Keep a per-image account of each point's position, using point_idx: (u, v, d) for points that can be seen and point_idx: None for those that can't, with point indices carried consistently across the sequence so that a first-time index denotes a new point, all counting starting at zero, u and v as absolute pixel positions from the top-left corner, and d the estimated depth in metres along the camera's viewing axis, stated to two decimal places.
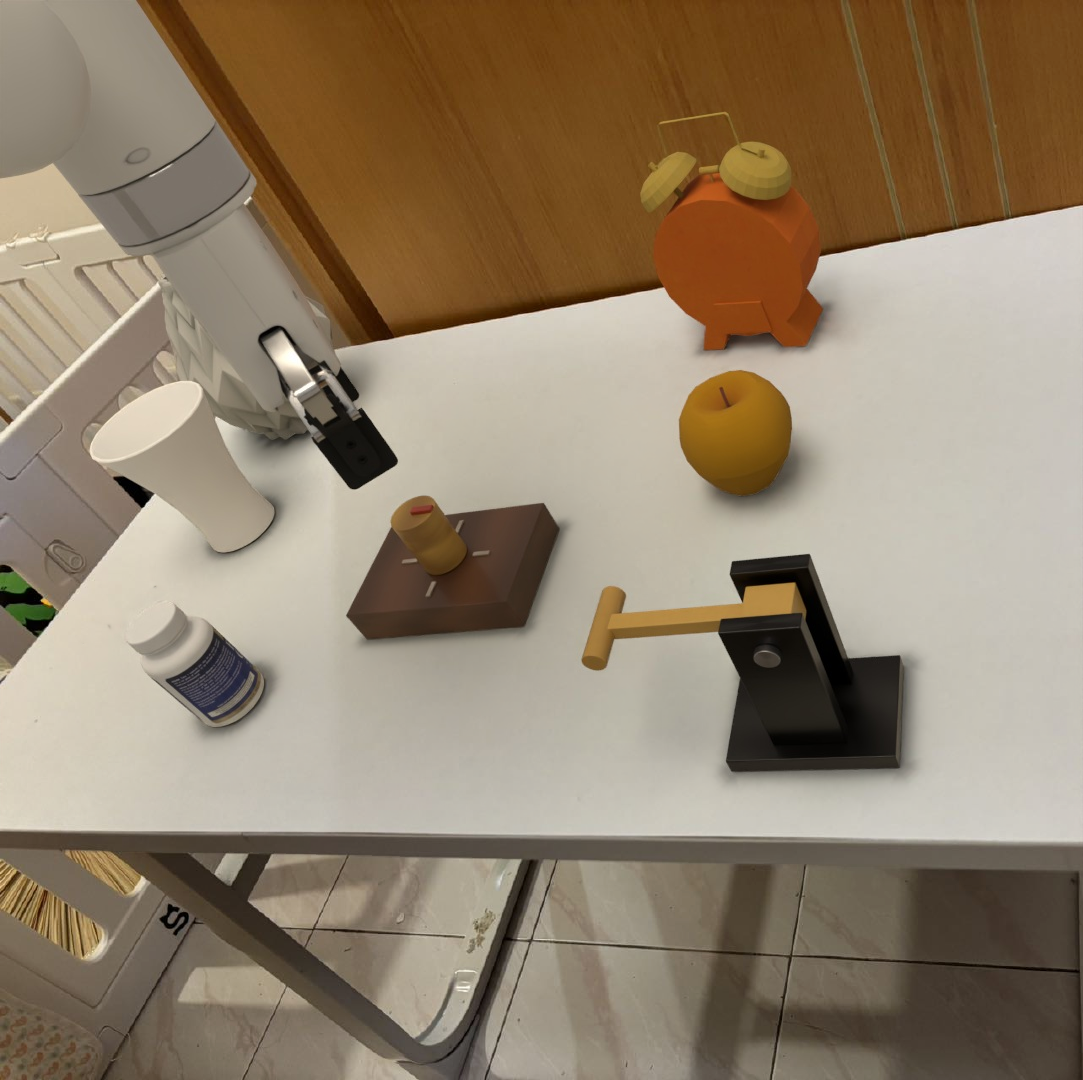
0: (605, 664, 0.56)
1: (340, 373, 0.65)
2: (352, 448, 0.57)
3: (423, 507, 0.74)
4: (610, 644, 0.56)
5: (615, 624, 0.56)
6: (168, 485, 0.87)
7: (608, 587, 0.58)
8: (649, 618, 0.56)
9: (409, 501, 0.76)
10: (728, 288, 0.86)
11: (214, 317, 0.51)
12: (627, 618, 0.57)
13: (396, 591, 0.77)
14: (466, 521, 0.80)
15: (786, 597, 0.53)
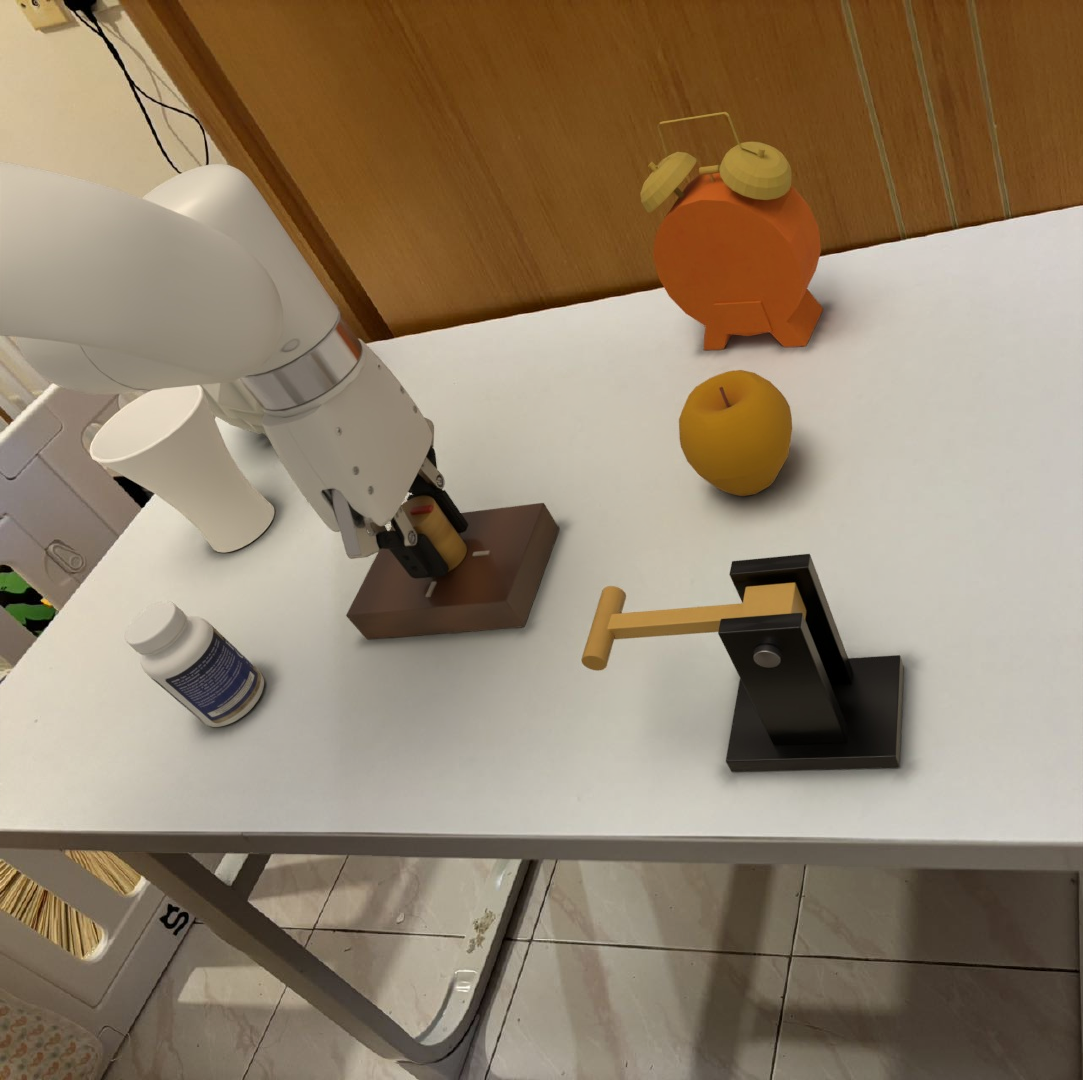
0: (605, 664, 0.56)
1: (450, 513, 0.77)
2: (407, 560, 0.73)
3: (423, 507, 0.74)
4: (610, 644, 0.56)
5: (615, 624, 0.56)
6: (168, 485, 0.87)
7: (608, 587, 0.58)
8: (649, 618, 0.56)
9: (409, 501, 0.76)
10: (728, 288, 0.86)
11: (292, 470, 0.66)
12: (627, 618, 0.57)
13: (396, 591, 0.77)
14: None
15: (786, 597, 0.53)
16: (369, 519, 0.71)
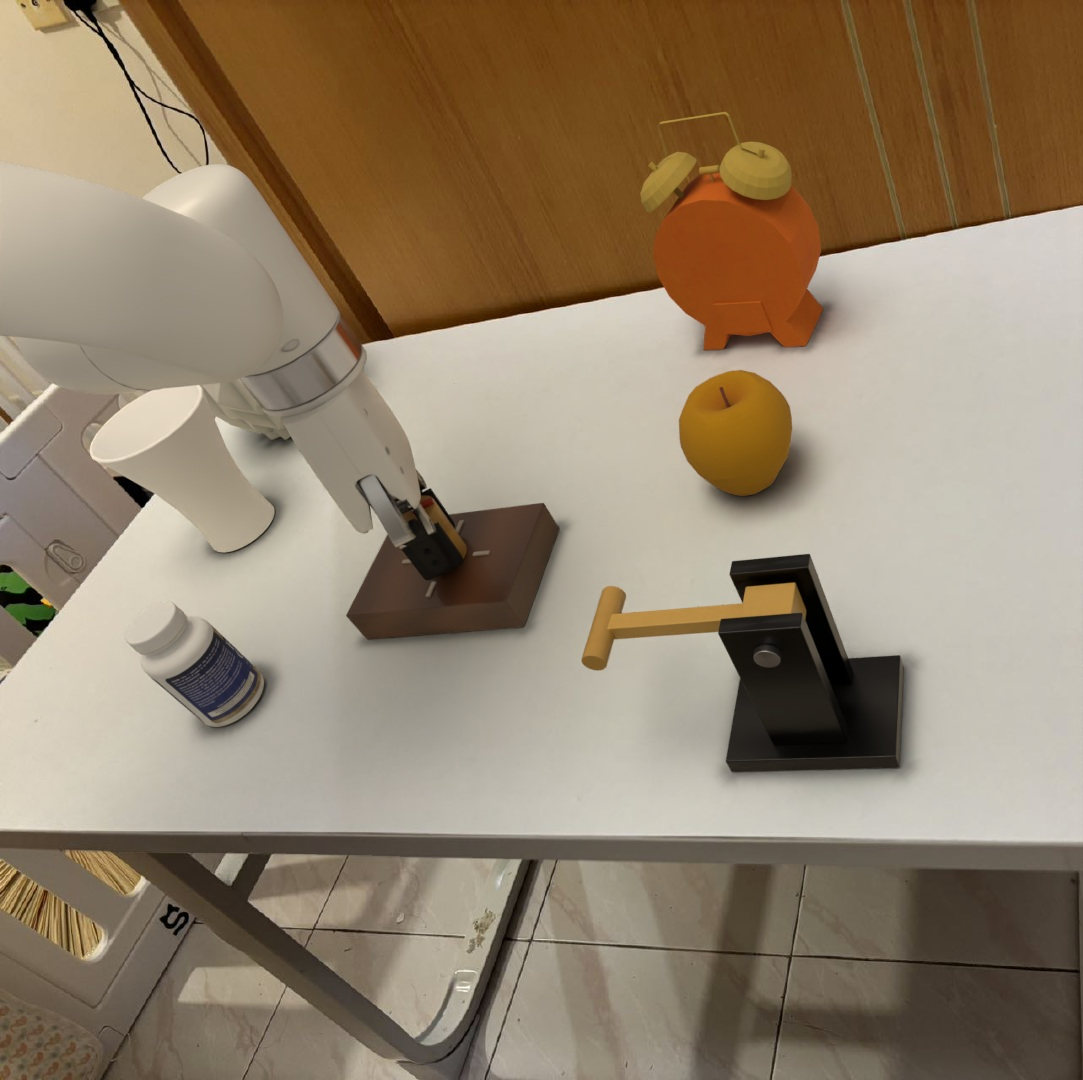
0: (605, 664, 0.56)
1: None
2: (428, 554, 0.73)
3: (424, 502, 0.74)
4: (610, 644, 0.56)
5: (615, 624, 0.56)
6: (168, 485, 0.87)
7: (608, 587, 0.58)
8: (649, 618, 0.56)
9: None
10: (728, 288, 0.86)
11: (323, 468, 0.65)
12: (627, 618, 0.57)
13: (396, 591, 0.77)
14: (466, 521, 0.80)
15: (786, 597, 0.53)
16: None
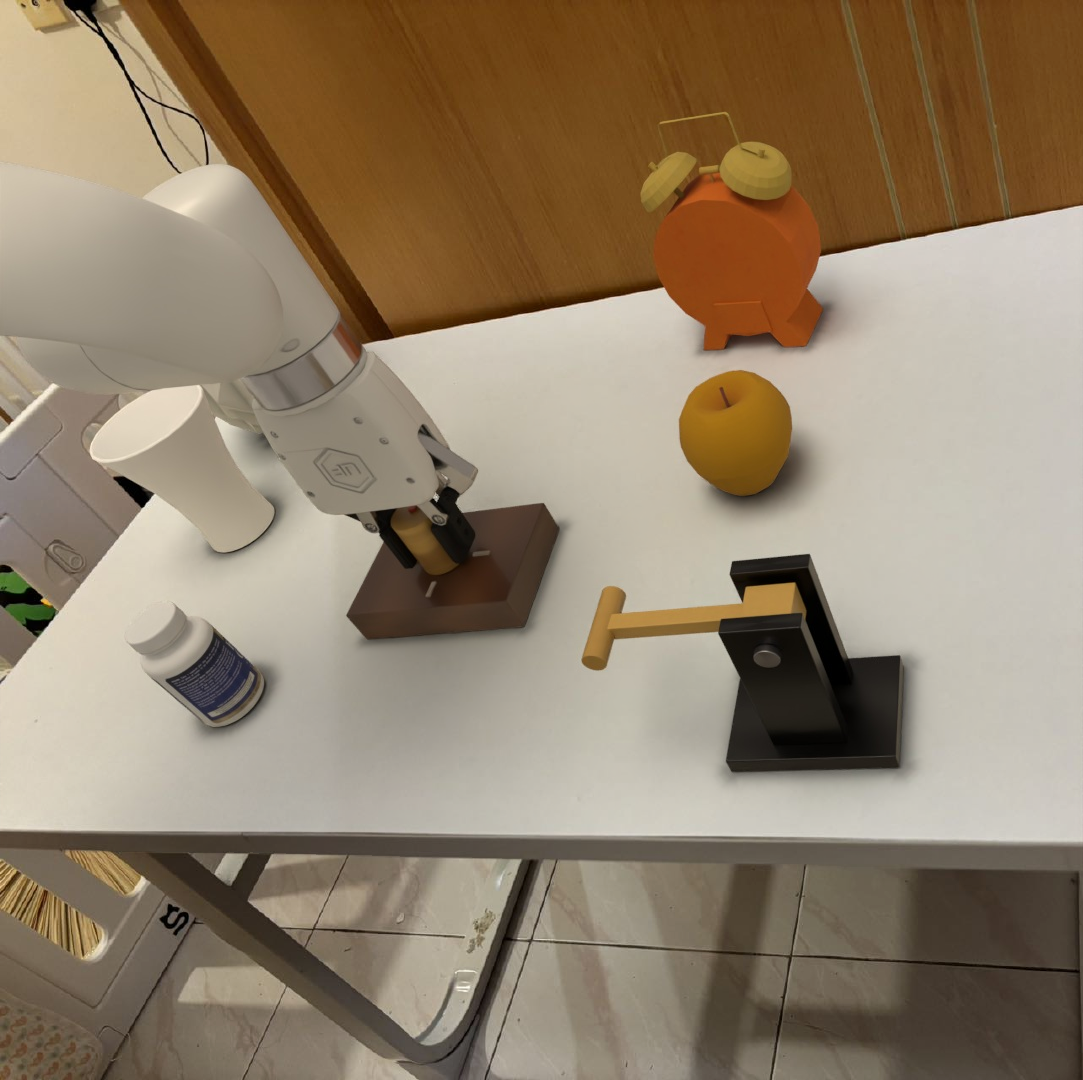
0: (605, 664, 0.56)
1: None
2: (460, 524, 0.74)
3: None
4: (610, 644, 0.56)
5: (615, 624, 0.56)
6: (168, 485, 0.87)
7: (608, 587, 0.58)
8: (649, 618, 0.56)
9: (393, 522, 0.74)
10: (728, 288, 0.86)
11: (393, 426, 0.66)
12: (627, 618, 0.57)
13: (396, 591, 0.77)
14: None
15: (786, 597, 0.53)
16: None
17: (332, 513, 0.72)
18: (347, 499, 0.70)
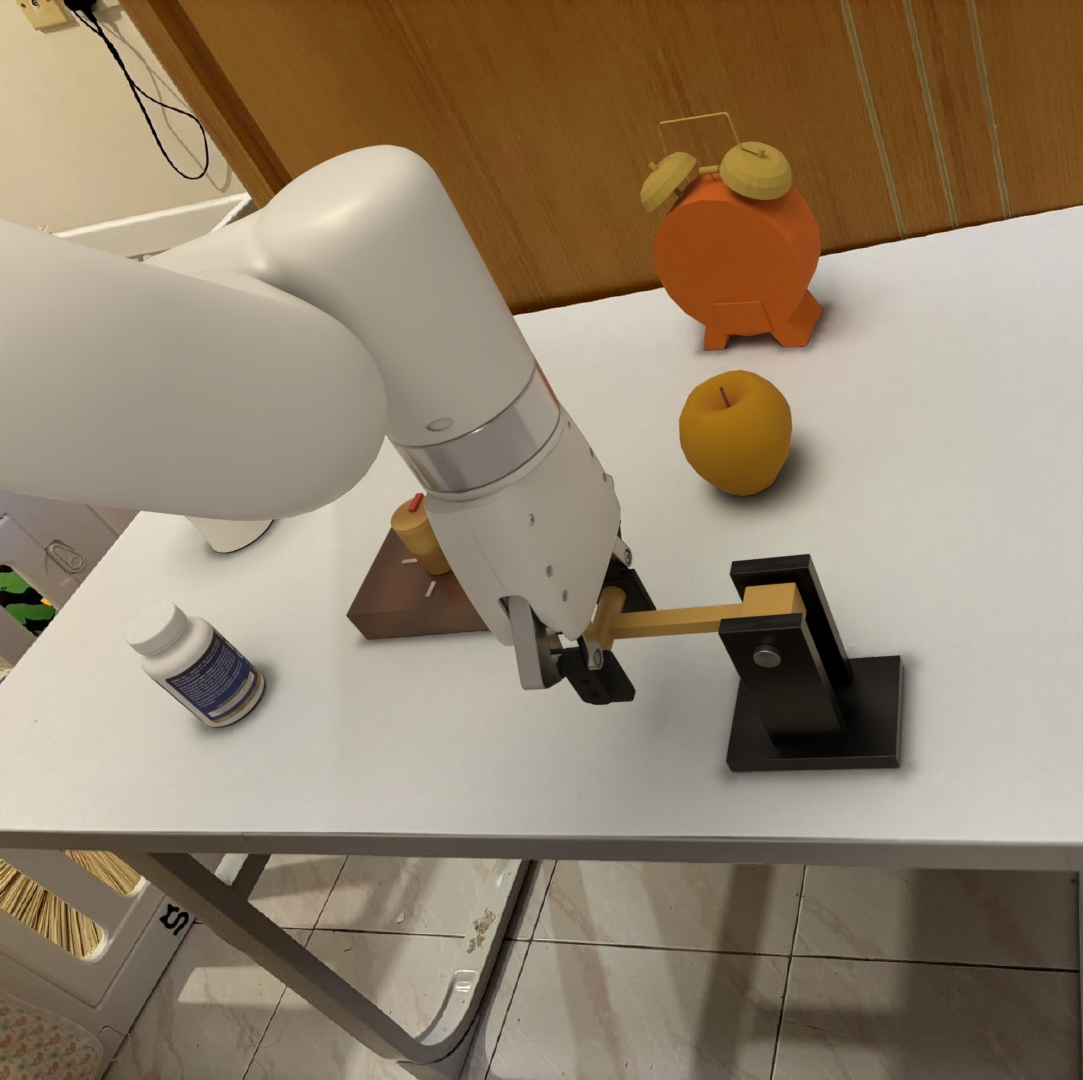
0: None
1: (639, 598, 0.59)
2: (587, 684, 0.55)
3: (415, 499, 0.75)
4: (610, 644, 0.56)
5: (615, 624, 0.56)
6: None
7: (608, 587, 0.58)
8: (649, 618, 0.56)
9: (393, 522, 0.74)
10: (728, 288, 0.86)
11: (461, 572, 0.48)
12: (627, 618, 0.57)
13: (396, 591, 0.77)
14: None
15: (786, 597, 0.53)
16: (545, 631, 0.52)
17: None
18: None
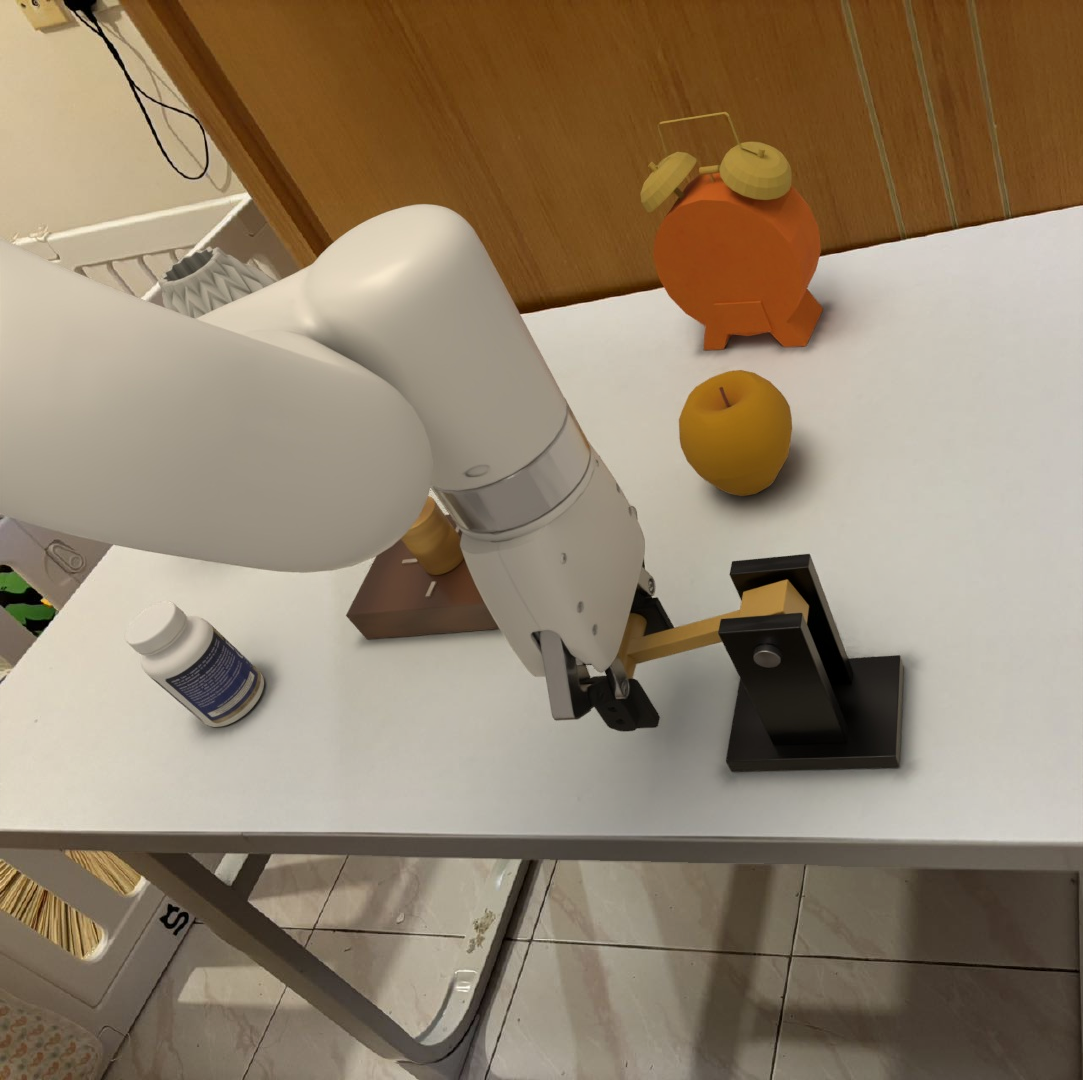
0: None
1: (662, 625, 0.61)
2: (613, 712, 0.56)
3: None
4: (631, 668, 0.58)
5: (632, 649, 0.58)
6: None
7: None
8: (662, 638, 0.57)
9: None
10: (728, 288, 0.86)
11: (495, 608, 0.49)
12: (643, 641, 0.58)
13: (396, 591, 0.77)
14: None
15: (779, 595, 0.53)
16: None
17: None
18: None
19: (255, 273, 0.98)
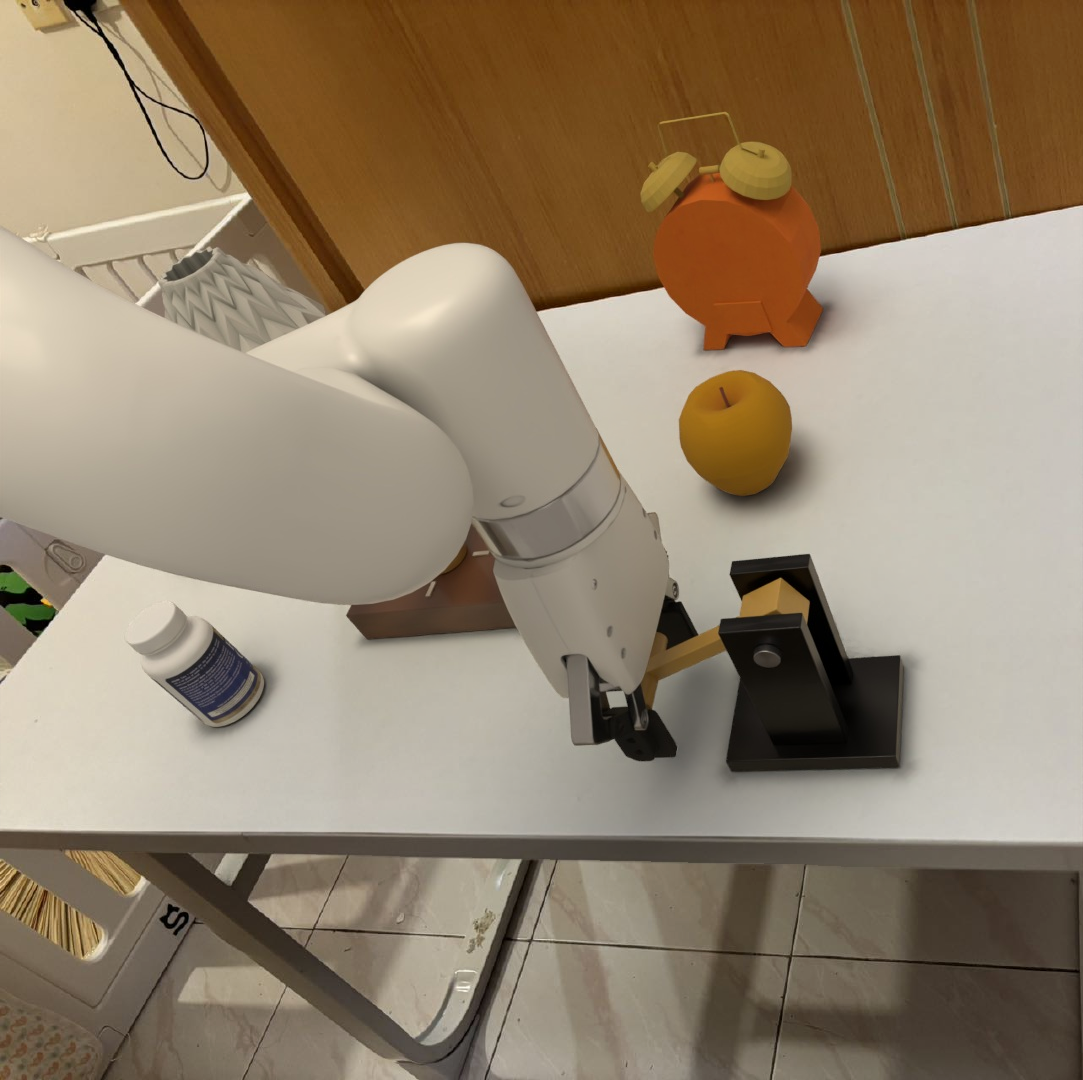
0: (649, 705, 0.58)
1: (685, 629, 0.62)
2: (632, 743, 0.57)
3: None
4: (652, 685, 0.59)
5: (651, 666, 0.59)
6: None
7: None
8: (676, 652, 0.58)
9: None
10: (728, 288, 0.86)
11: (527, 632, 0.50)
12: (661, 657, 0.59)
13: None
14: None
15: (773, 594, 0.53)
16: None
17: None
18: None
19: (255, 273, 0.98)
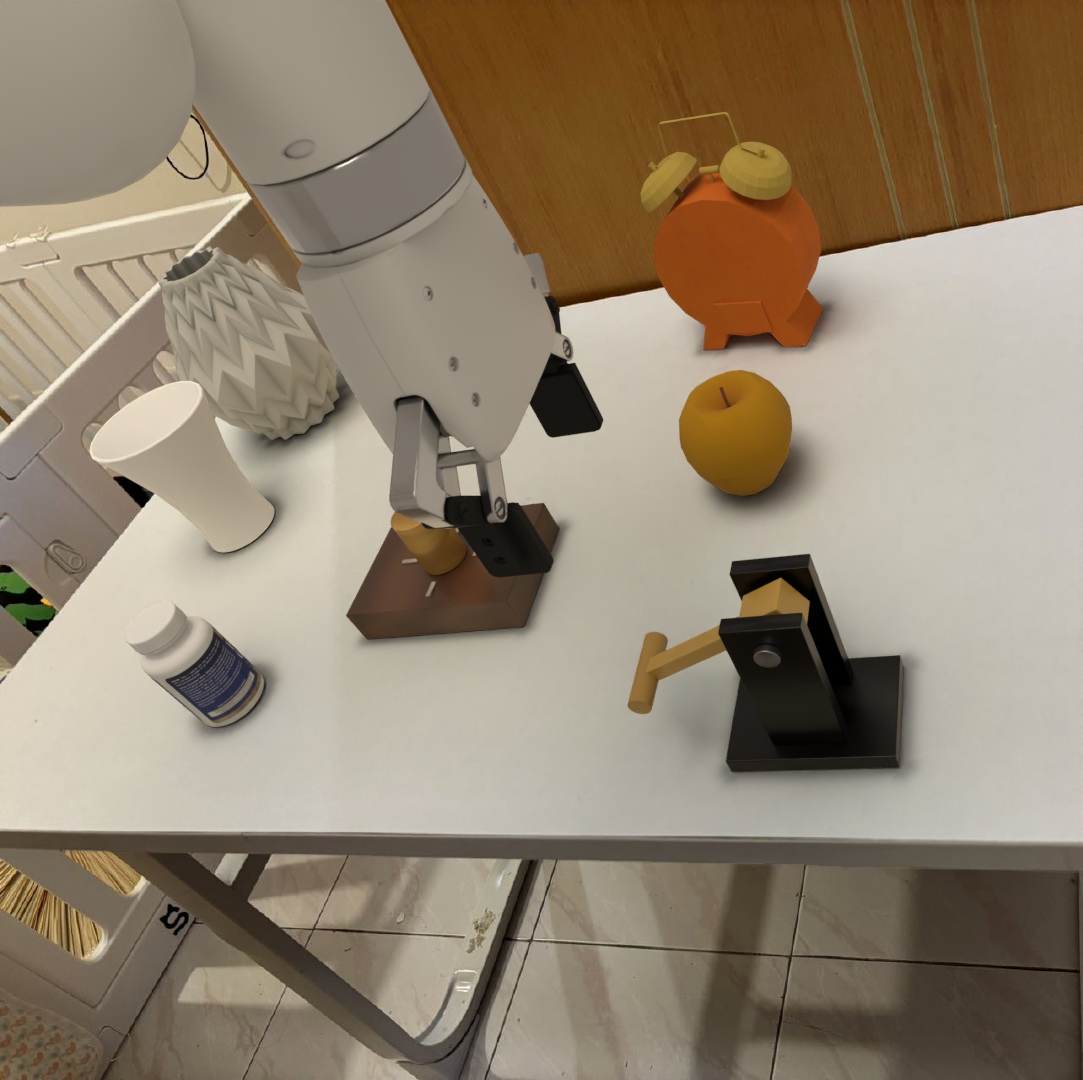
0: (649, 705, 0.58)
1: (581, 400, 0.51)
2: (489, 546, 0.44)
3: None
4: (652, 685, 0.59)
5: (651, 666, 0.59)
6: (168, 485, 0.87)
7: (647, 634, 0.61)
8: (676, 652, 0.58)
9: (393, 522, 0.74)
10: (728, 288, 0.86)
11: (346, 364, 0.39)
12: (661, 657, 0.59)
13: (396, 591, 0.77)
14: None
15: (773, 594, 0.53)
16: (442, 459, 0.43)
17: None
18: None
19: (255, 273, 0.98)
